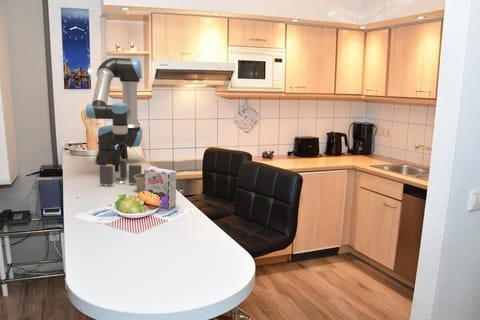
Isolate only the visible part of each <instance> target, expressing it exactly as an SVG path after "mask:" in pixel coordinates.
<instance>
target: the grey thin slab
mask: <svg viewBox="0 0 480 320" xmlns="http://www.w3.org/2000/svg"><path fill="white" fill-rule="evenodd" d="M142 166H143V165H142V164H141V163H135V164H129V165H128V183H129V184H132V185H133V186H137V185H136V180H135V178H134V176H135V175H137V174H143V171H142Z"/></svg>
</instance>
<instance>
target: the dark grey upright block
mask: <svg viewBox="0 0 480 320" xmlns="http://www.w3.org/2000/svg"><path fill="white" fill-rule="evenodd" d="M99 184H100V185H104V187H110V185H114V165H109V164H107V165H100V166H99Z"/></svg>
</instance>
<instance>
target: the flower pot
mask: <svg viewBox="0 0 480 320" xmlns="http://www.w3.org/2000/svg"><path fill="white" fill-rule="evenodd" d="M134 178H135V180H136V185H135V186H136V190H137V192H139V193H142V192H141V191H144V173H142V174H137V175H135V176H134Z"/></svg>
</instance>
